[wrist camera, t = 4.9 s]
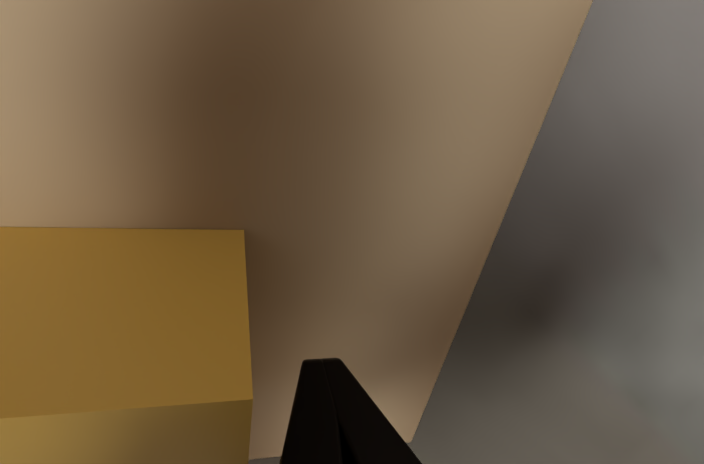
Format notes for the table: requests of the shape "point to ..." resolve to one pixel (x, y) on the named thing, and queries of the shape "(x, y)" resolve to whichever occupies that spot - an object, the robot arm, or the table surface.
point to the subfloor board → (292, 158)
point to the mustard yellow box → (124, 346)
